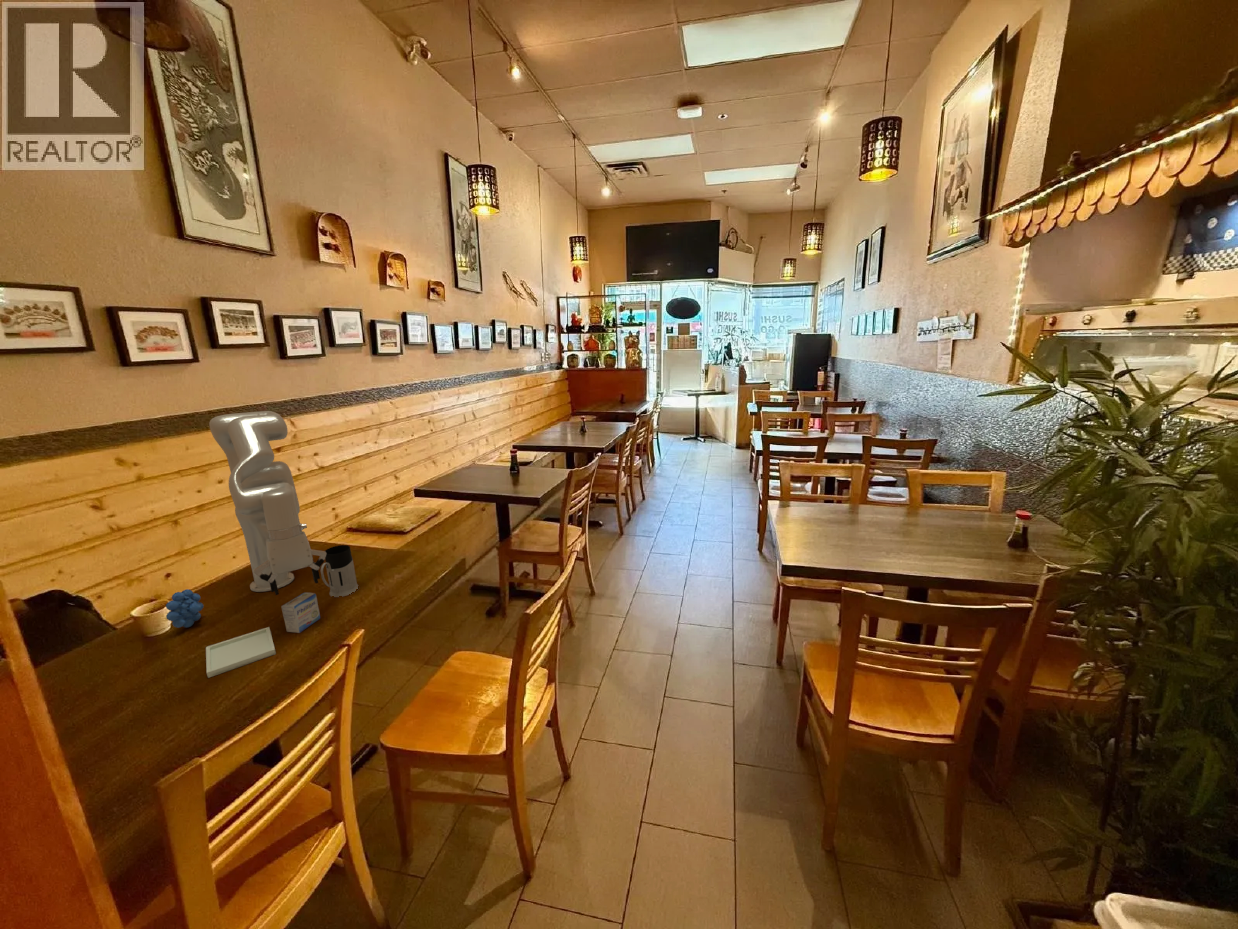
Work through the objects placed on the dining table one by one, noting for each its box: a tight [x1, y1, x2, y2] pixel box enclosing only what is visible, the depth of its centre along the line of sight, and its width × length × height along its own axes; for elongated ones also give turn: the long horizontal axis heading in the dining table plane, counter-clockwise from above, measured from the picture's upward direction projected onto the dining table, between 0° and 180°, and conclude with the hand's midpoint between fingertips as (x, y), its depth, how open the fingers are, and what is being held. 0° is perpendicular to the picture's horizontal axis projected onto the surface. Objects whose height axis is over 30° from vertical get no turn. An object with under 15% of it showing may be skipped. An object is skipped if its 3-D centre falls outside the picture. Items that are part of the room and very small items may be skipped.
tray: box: [205, 626, 277, 679], centre depth 127 cm, size 14×14×2 cm
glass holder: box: [320, 544, 359, 598], centre depth 155 cm, size 9×14×15 cm, turn 2°
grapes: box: [165, 588, 205, 629], centre depth 138 cm, size 12×7×12 cm, turn 6°
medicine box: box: [280, 592, 321, 634], centre depth 138 cm, size 8×4×9 cm, turn 168°
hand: (296, 587), depth 136 cm, fingers open, 9 cm apart
